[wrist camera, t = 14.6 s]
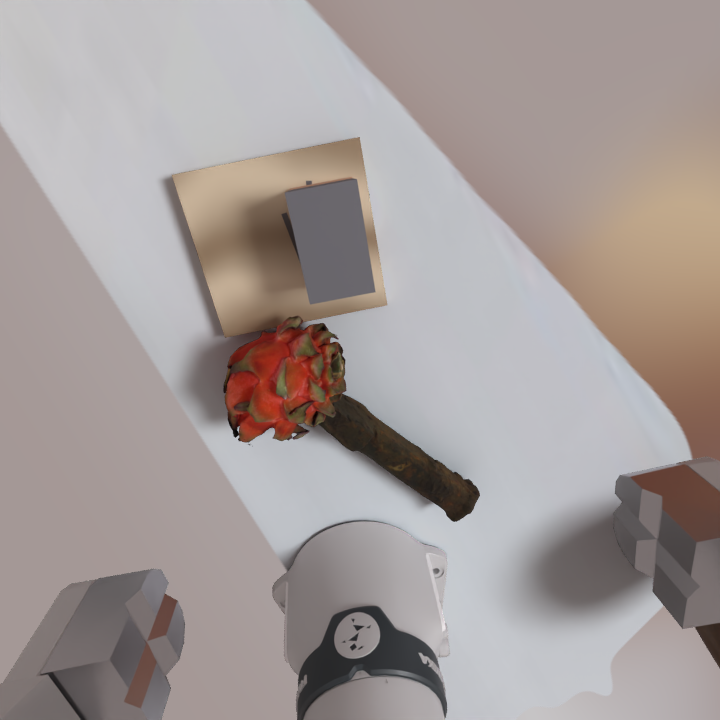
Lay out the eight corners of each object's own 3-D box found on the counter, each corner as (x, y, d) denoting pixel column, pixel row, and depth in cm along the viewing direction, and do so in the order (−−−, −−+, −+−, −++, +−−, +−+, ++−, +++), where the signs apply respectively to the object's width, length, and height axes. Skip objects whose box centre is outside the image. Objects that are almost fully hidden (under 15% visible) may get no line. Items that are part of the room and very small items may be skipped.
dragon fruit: (348, 311, 38) (257, 392, 42) (275, 272, 31) (176, 373, 35) (391, 392, 33) (285, 474, 37) (317, 367, 26) (197, 470, 31)
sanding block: (368, 277, 34) (375, 293, 29) (311, 288, 34) (310, 306, 29) (351, 176, 31) (356, 177, 26) (289, 188, 31) (284, 191, 26)
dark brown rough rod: (473, 476, 44) (489, 508, 40) (443, 501, 45) (456, 535, 41) (330, 358, 38) (331, 381, 34) (300, 390, 39) (297, 416, 35)
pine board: (384, 299, 36) (387, 305, 35) (228, 331, 36) (225, 337, 35) (357, 138, 32) (359, 137, 30) (178, 174, 32) (171, 175, 30)
